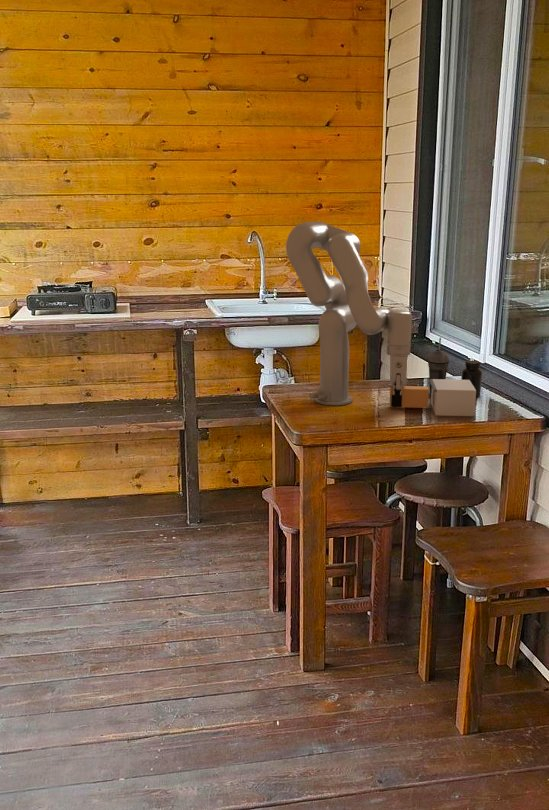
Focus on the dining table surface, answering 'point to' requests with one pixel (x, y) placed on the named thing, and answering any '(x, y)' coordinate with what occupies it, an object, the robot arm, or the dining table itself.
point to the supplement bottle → (473, 375)
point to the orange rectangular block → (413, 396)
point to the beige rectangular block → (453, 397)
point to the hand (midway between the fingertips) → (396, 404)
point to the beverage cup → (437, 365)
